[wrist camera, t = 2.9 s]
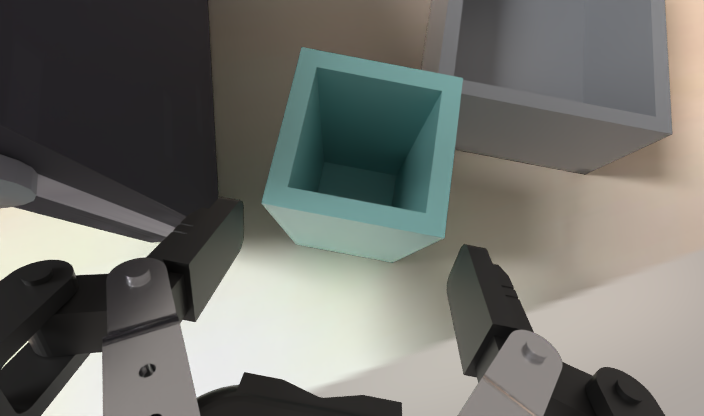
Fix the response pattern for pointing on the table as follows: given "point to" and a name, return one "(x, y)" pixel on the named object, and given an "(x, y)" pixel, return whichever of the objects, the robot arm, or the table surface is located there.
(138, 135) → the radio
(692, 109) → the table surface
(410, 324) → the table surface
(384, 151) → the box
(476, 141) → the big crate
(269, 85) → the table surface
